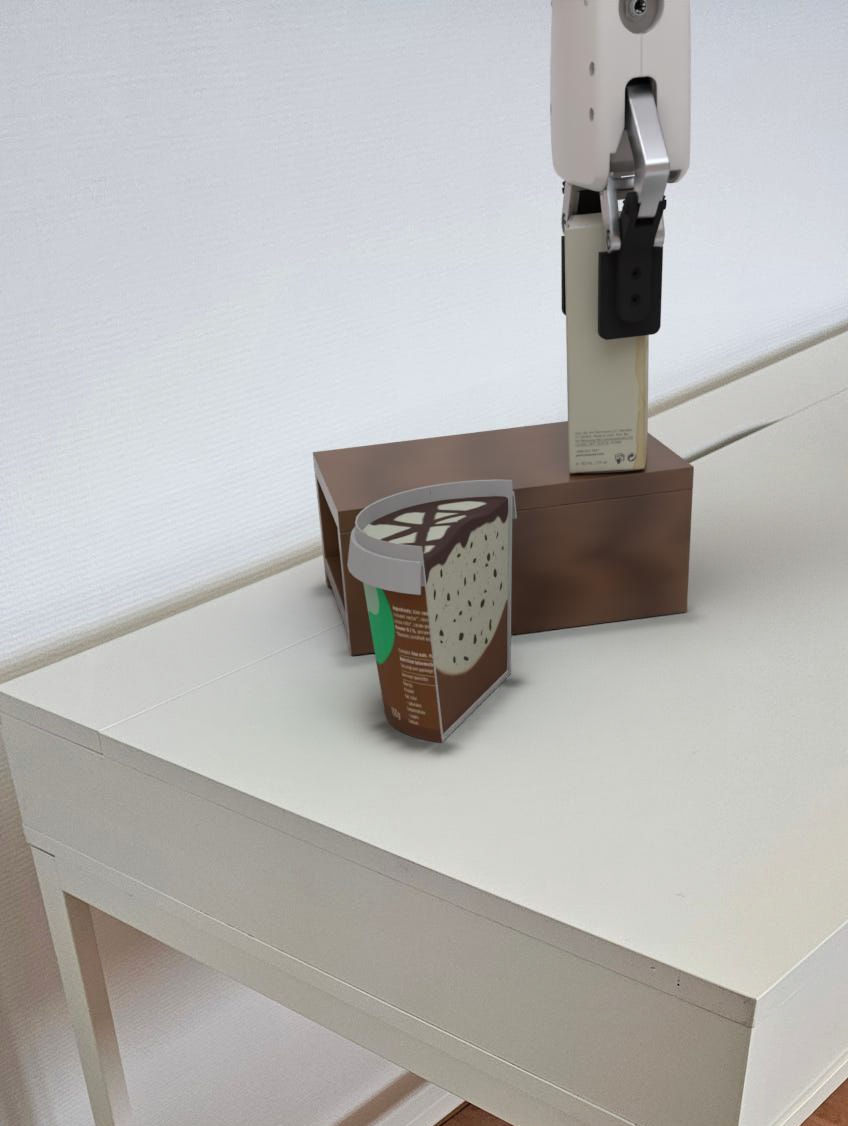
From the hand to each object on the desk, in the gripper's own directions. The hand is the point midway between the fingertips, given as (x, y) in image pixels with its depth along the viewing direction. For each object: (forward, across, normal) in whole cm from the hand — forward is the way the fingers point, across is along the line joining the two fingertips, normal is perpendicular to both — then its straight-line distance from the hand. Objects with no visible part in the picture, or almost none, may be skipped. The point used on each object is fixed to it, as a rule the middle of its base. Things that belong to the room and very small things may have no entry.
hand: (608, 321), depth 76 cm
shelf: (+15, +4, +6) cm, 17 cm away
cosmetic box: (+7, 0, 0) cm, 7 cm away
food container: (+16, -12, +13) cm, 23 cm away
